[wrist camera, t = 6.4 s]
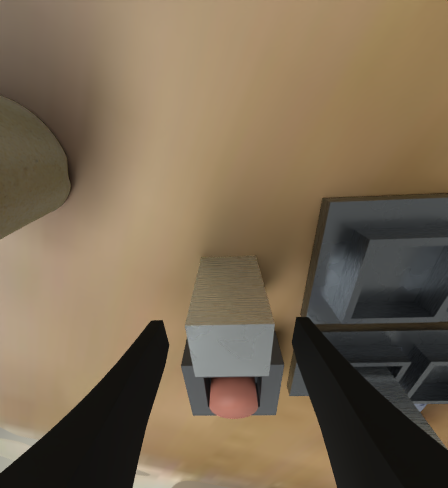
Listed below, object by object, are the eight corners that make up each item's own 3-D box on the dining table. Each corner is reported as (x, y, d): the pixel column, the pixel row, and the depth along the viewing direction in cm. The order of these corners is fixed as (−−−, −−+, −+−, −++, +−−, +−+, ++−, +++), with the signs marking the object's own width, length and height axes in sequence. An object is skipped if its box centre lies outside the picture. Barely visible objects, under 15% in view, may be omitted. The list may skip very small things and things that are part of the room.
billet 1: (254, 297, 15) (268, 375, 10) (205, 298, 16) (194, 376, 10) (255, 255, 14) (274, 324, 8) (201, 257, 14) (184, 325, 8)
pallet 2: (452, 384, 20) (480, 412, 18) (286, 385, 21) (293, 413, 19) (511, 318, 16) (557, 345, 14) (298, 322, 17) (309, 349, 14)
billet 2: (363, 379, 19) (419, 472, 13) (323, 379, 19) (361, 472, 13) (377, 353, 17) (447, 449, 11) (331, 354, 17) (380, 449, 12)
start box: (269, 380, 21) (275, 415, 18) (197, 381, 21) (193, 415, 18) (275, 331, 17) (284, 364, 14) (188, 332, 17) (181, 366, 15)
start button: (253, 386, 18) (257, 418, 16) (213, 386, 19) (211, 418, 16) (254, 361, 17) (258, 393, 14) (209, 361, 17) (207, 394, 15)
